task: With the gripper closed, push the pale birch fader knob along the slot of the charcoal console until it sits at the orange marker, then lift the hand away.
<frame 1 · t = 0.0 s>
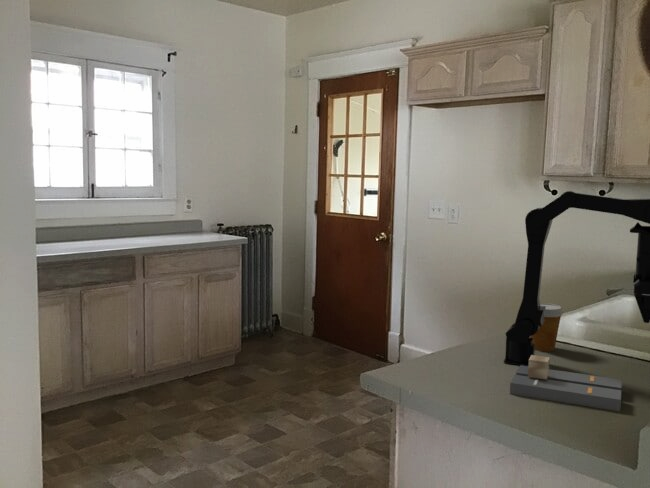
hand: (646, 318, 145), 15 cm above the countertop, fingers open, 9 cm apart
fader console: (565, 391, 137), on the countertop
disposable coffee cup: (542, 349, 171), on the countertop
fader knob: (538, 370, 139), point 4 cm above the countertop, slide at 0.0 cm
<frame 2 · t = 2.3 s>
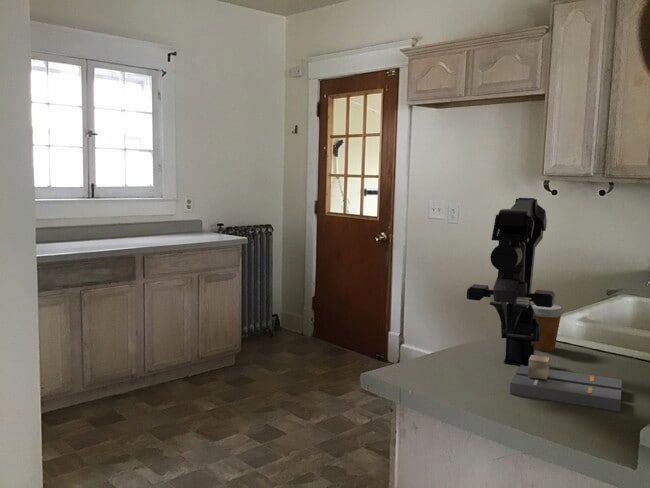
hand: (508, 332, 141), 12 cm above the countertop, fingers closed
nothing on the countertop moved.
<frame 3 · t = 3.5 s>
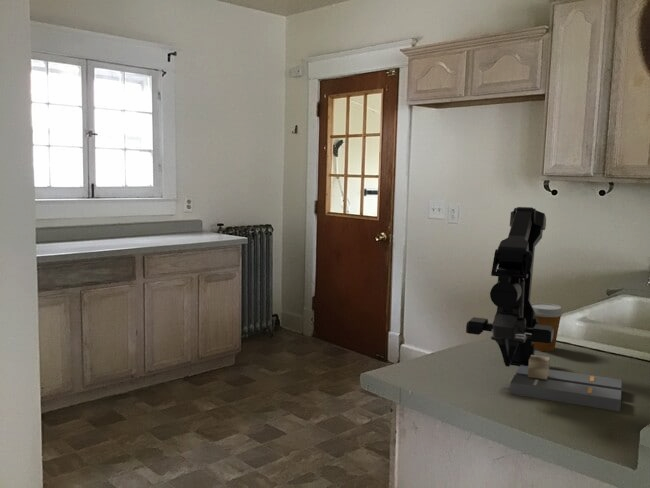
hand: (507, 366, 142), 4 cm above the countertop, fingers closed
nothing on the countertop moved.
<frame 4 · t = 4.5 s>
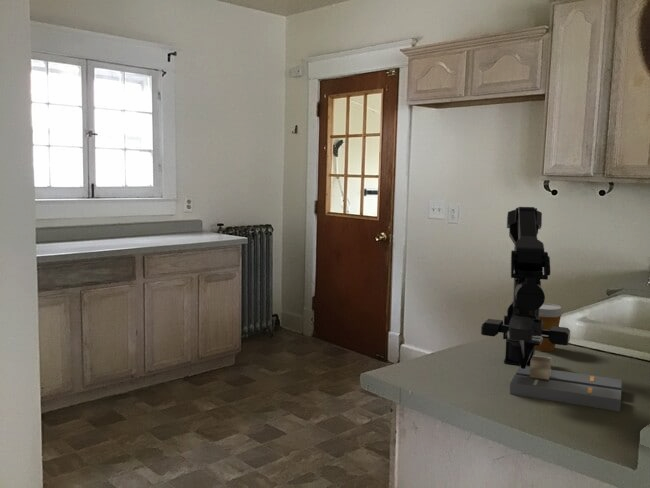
hand: (523, 368, 141), 4 cm above the countertop, fingers closed
fader knob: (540, 371, 139), point 4 cm above the countertop, slide at 0.4 cm, touching gripper
everything else where it was.
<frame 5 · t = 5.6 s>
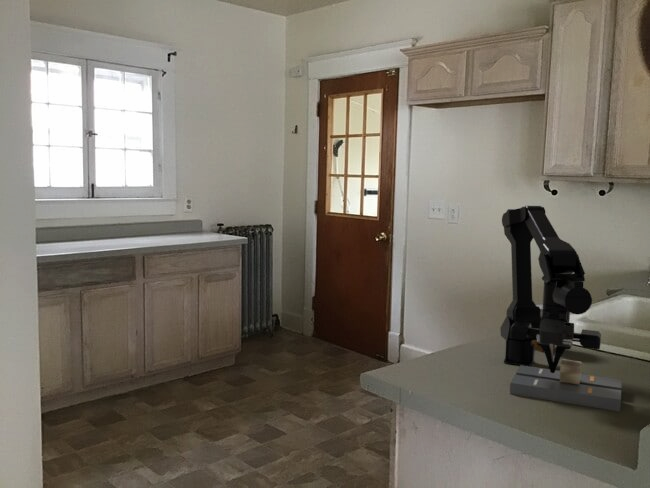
hand: (552, 372, 138), 4 cm above the countertop, fingers closed
fader knob: (570, 375, 136), point 4 cm above the countertop, slide at 6.7 cm, touching gripper
everything else where it was.
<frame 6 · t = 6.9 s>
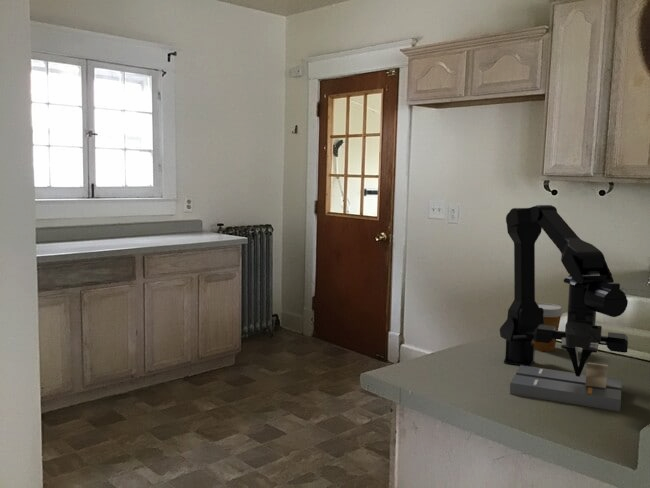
hand: (577, 375, 135), 4 cm above the countertop, fingers closed
fader knob: (596, 379, 134), point 4 cm above the countertop, slide at 12.0 cm, touching gripper
everything else where it was.
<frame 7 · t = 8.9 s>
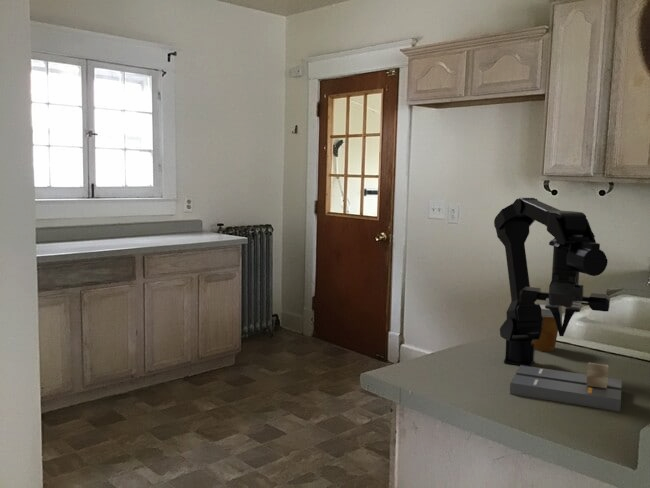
hand: (561, 335, 140), 12 cm above the countertop, fingers closed
fader knob: (597, 379, 134), point 4 cm above the countertop, slide at 12.2 cm
everything else where it was.
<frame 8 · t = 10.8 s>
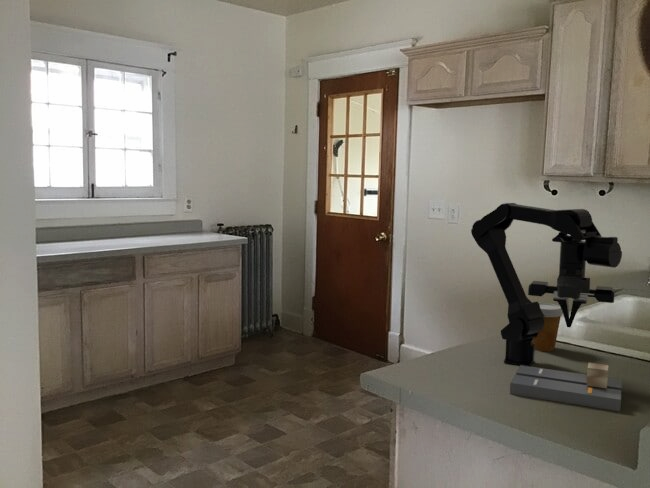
hand: (568, 326, 147), 12 cm above the countertop, fingers closed
nothing on the countertop moved.
at the end: fader knob slide at 12.2 cm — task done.
